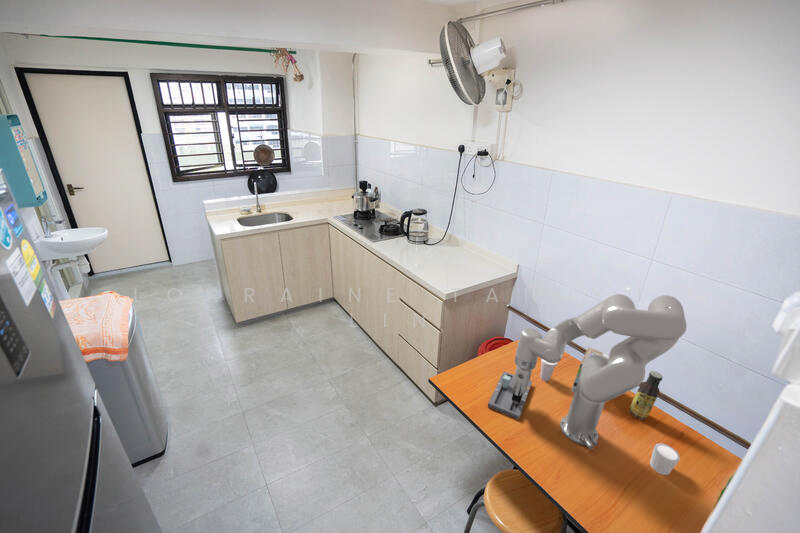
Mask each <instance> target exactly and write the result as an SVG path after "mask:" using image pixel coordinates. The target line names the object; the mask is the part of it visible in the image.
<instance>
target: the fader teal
mask: <svg viewBox="0 0 800 533" xmlns="http://www.w3.org/2000/svg"><path fill="white" fill-rule="evenodd" d="M510 378H511V377H509V376H507V375H504V377H503V380H502V385H501V386H503V388H502V389H504V390H506V388H508V386H509V383H510Z"/></svg>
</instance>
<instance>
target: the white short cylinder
mask: <svg viewBox="0 0 800 533" xmlns="http://www.w3.org/2000/svg"><path fill="white" fill-rule="evenodd" d="M680 460H681V458H680V454H679V453H678V451H676V450H675V448H673V447H671V446H670V445H668V444H665V443H656V444H655V445H654V447H653V450H652V453H651V458H650V460H649V465H650V467H651V469H652V470H654V472H657V474H660V475H663V476H667V475H670V473H672V471H673V469H674V468H675V467H676V465H677V464H678V463H679V462H680Z"/></svg>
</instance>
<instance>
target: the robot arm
mask: <svg viewBox="0 0 800 533" xmlns="http://www.w3.org/2000/svg"><path fill="white" fill-rule="evenodd" d="M686 331H687V320H686V317H685V311H684V307H683V305H682V303H681V301H680V300H679V299H677V298H676V297H675V296H672V295H668V294H666V295H660V296H657V297H655V298H654V299H653V300H651V301H650V303H649V305H648V308H647V310H644V309H637V308H636V305H635V304H634V301H633V300H632V299H631V298H630V297H629V296H628V295H624V294H621V293H617V294H613V295H610V296H609V297H607V298H605V299H603V300H602V301H601V302H599V303H597V304H596V305H594V306H592V307H591V308H589V309H588V310H586V311H584V312H583V313H581V314H579V315H578V316H574V317H570V318H567V319H564V320H563V321H561V322H559V323H557V324H556V325H554V326H553V327H551V328H550V329H549V330H548V331H547V332H546V333H545V335H544V336H543V335H542V333H541V332H540V331H539V330H537V329H535V328H531V327H526V328H523V329H522V330H521V331H520V334H519V338H518V342H517V346H516V347H517V348H516V352H515V356H514V364H515V365H516V368H515V373H514V375H515V376H514V381H513V389H514V392H513V396H512V400H513V401H515V402H518V403H520V401H521V398H522V395H523V393H525V392H526V390H527V387H528V384H529V381H531V375H532V372H533V370H535V368H536V366H537V362H538V358H540V359H543V360H545V361H547V362H550V363H557V364H558V363H559V362H560V361H561V360H562V358H563V356H564V353H565V349H566V347H567V346H566V345H567V344H568V343H570V342H573V340H575V339H577V338H578V339H579V338H580V337H582V336H585V337H587V338H588V339H591V340H595V339H598V338H599V337H601V336H603V335H604V334H606V333H608V332H611V333H613V334H616V335H620V336H627V338H626V339H624V340H622V341H621V342H619V343H617V344H615V345H614V346H612V347H611V349H610V350H609V354H608V355H609V360H608V359H607V358H606V357H604V356H600V355H593V356H590V357H588V358H587V359H586V360H585V361H584V363H583V365H582V368H581V372H580V376H579V380H578V383H577V386H576V390H575V393H574V392H573V396H572V400H571V403H570V406H569V409H568V413H567V415H565V416H563V417H562V418H561V420H560V421H559V427H560V430H561V431H562V433H563V435H564V436H565V437H567V439H569V440H570V441H572V442H574V443H575V444H578V445H582V446H586V447H587V449H588V450H593V449H594V447H596V446H598V445H599V443H598V439H599V433H598V430H597V426H598V423H599V422H600V418H601V416H602V413H603V411H604V407H605V404H606V402H610V401H611V400H614V399H616V398H618V397H620V396H622V395H624V394H626V393H628V392H630V391H632V390H634V389H636V388H637V387H638V386H640V385H641V384H642V383H643V382H644V380H645V376H646V365H648V364H649V363H650V362H652V361H654V360H655V359H657V358H659V357H661V356H662V355H664V354H665V353H667V352H668V351H670V350H671V349H672V348H673V347H674V346H675V345H676V343H677V342H678V341H679V339H680V338H681V337H683V335H685V333H686ZM519 390H521V391H519Z"/></svg>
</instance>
